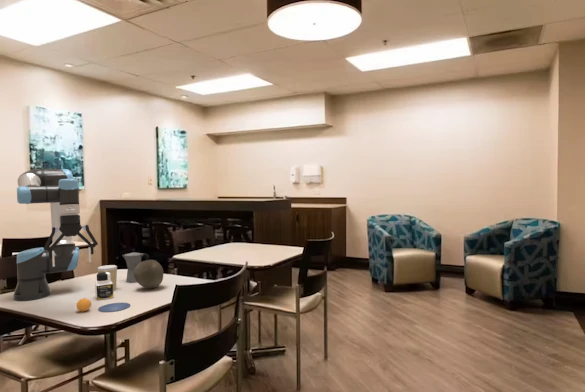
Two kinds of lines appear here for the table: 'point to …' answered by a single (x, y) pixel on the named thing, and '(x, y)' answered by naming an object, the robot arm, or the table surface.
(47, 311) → the table surface
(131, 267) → the coffeepot
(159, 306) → the table surface
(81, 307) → the ball
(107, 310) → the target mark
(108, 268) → the coffee cup
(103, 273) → the medicine bottle
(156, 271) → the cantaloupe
